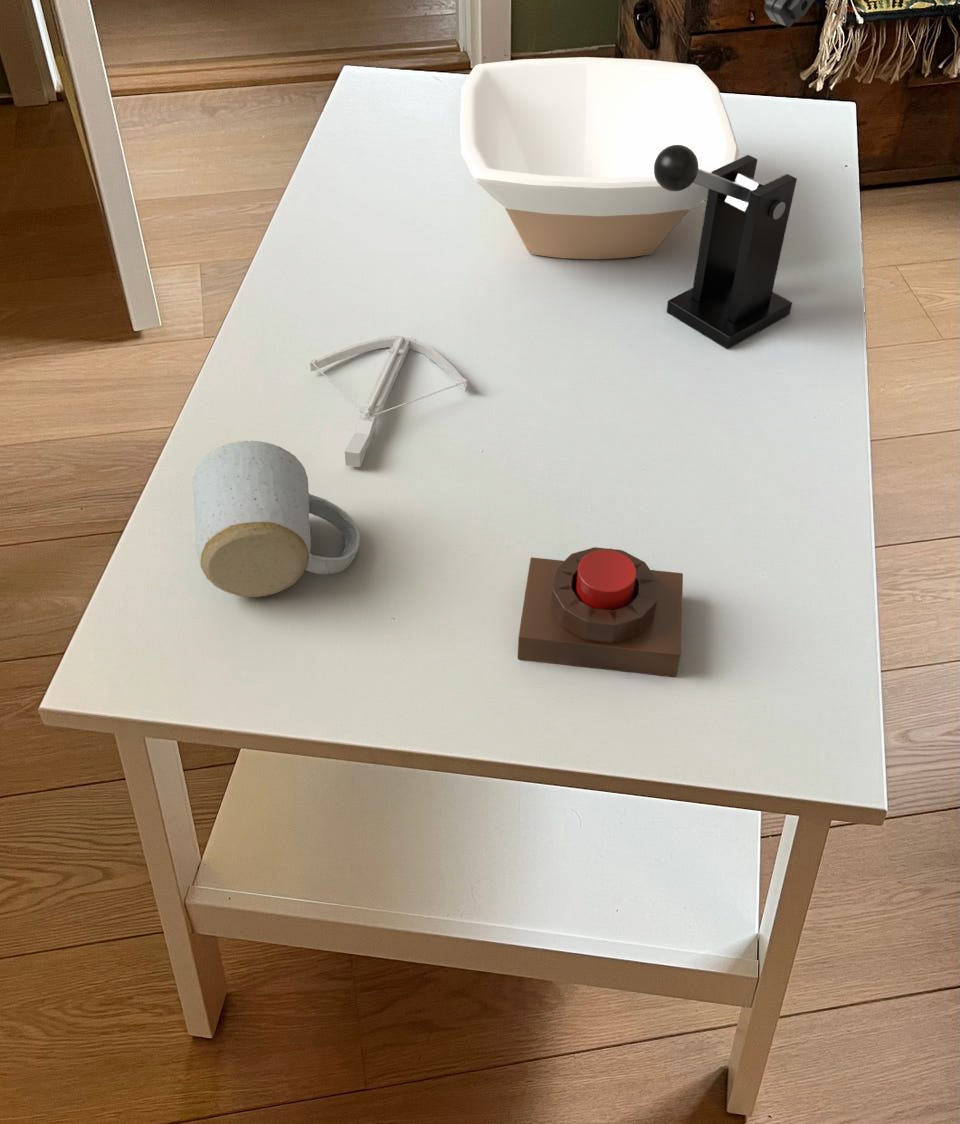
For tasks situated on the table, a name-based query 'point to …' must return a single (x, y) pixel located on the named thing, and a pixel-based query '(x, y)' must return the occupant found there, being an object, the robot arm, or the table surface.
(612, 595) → the button
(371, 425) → the crossbow
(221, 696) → the table surface
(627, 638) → the button block
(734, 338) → the bracket
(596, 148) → the bowl
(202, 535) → the ceramic mug
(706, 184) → the lever
